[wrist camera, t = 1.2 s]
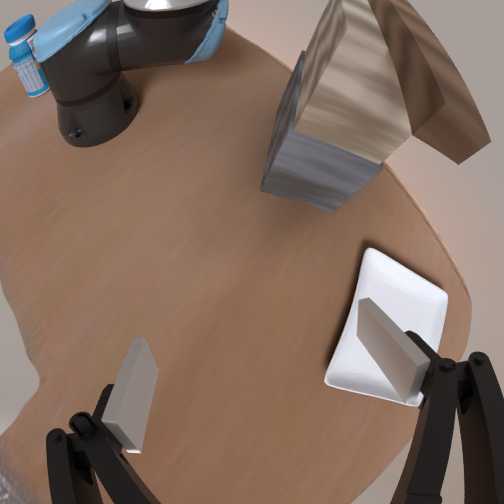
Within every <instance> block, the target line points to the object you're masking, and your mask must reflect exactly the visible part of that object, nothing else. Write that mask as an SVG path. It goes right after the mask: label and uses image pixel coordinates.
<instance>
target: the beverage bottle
mask: <svg viewBox="0 0 504 504" xmlns="http://www.w3.org/2000/svg"><path fill="white" fill-rule="evenodd" d="M34 28H35V20H34V17H33V15H32V14H30V15H27V16H24V17H22V18H21V19H19V20H17V21H16V22H14V23H13V24H12V25H10V26H9V27H8V28H7V29H6V30H5V32H4V37H5V39H6V41H7V43H8V44H11V45H10V50H9V57H10V59H11V60H13V62H12V65H13V68H14V69H15V70H16V72H17V74H18V76H19V78H20V79H21V81H22V83H23V85H24V87H25V89H26V92H27V94H28V96H30V97H37V96H40V95H42V94H44V93H45V92H47V91H48V90H49V89H50V87H49V85H48V83H47V81H46V78H45V76H44V74H43V72H42V69H41V67H40V65H39V63H38V62H37V60H36V59H37V57H36V54H35V50H34V46H33V39H34V36H35V34H36V32H37V31H38V30H36V29H34Z"/></svg>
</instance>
